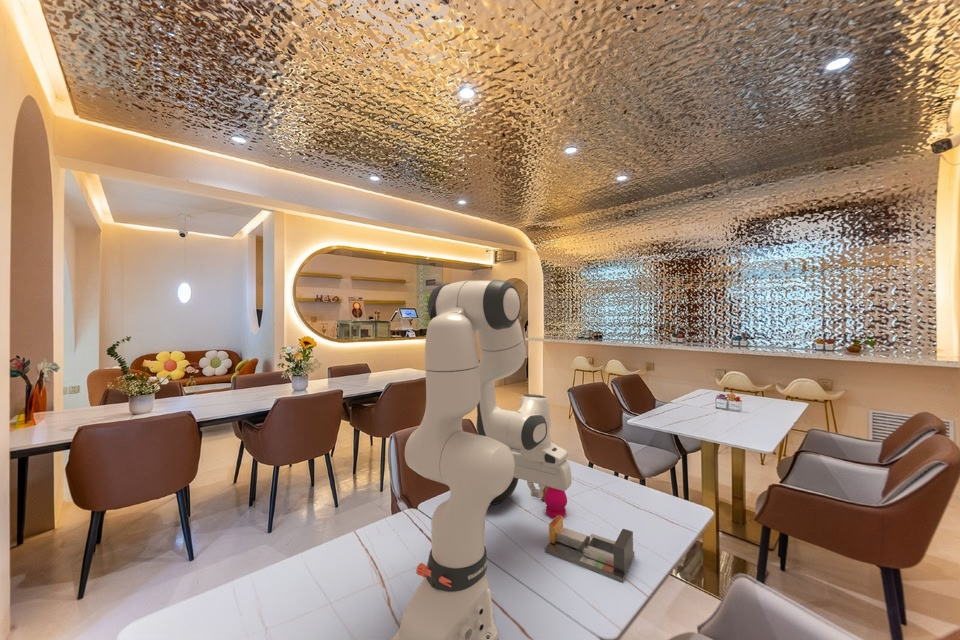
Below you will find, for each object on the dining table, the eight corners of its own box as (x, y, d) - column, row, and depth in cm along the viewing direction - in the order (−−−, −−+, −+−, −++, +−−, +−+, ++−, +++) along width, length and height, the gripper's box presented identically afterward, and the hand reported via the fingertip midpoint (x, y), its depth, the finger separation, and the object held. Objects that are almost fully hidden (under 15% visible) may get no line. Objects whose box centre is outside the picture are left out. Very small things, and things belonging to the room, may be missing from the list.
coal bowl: (527, 494, 130) (526, 441, 130) (505, 522, 112) (504, 461, 112) (477, 483, 139) (477, 434, 139) (450, 508, 121) (449, 451, 121)
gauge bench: (622, 582, 86) (622, 552, 86) (544, 552, 97) (544, 526, 97) (634, 555, 96) (634, 528, 96) (562, 530, 107) (562, 507, 107)
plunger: (583, 562, 91) (583, 542, 91) (544, 547, 98) (544, 529, 98) (594, 543, 99) (594, 526, 99) (557, 531, 105) (557, 514, 105)
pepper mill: (569, 519, 113) (568, 455, 113) (546, 519, 113) (545, 455, 113) (564, 507, 121) (564, 447, 121) (542, 507, 121) (542, 447, 121)
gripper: (499, 446, 109) (500, 491, 109) (564, 460, 97) (565, 511, 98) (510, 439, 114) (511, 483, 115) (573, 452, 103) (574, 501, 103)
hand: (536, 496), depth 106 cm, fingers closed
